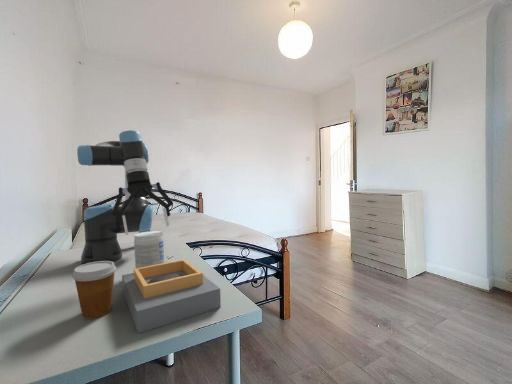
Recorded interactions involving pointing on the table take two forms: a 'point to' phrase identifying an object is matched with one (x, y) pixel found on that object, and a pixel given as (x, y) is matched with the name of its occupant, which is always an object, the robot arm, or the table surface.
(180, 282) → the grey platform
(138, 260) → the supplement tub
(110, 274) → the disposable coffee cup
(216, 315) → the table surface
